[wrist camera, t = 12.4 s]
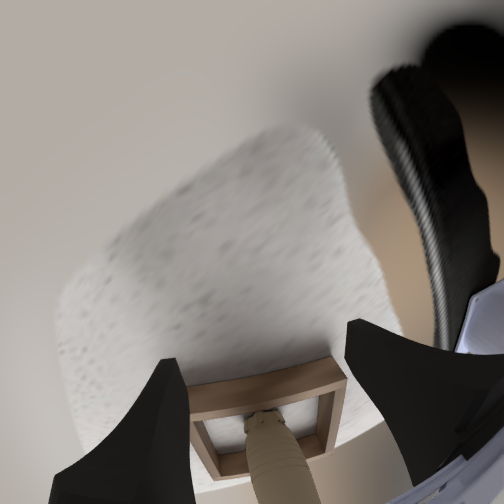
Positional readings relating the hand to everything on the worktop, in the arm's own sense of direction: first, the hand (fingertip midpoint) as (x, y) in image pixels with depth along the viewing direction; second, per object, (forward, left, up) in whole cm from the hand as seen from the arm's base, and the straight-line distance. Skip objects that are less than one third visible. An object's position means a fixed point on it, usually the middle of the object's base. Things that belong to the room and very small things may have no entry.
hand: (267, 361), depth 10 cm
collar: (0, +11, -5) cm, 12 cm away
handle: (0, +11, -5) cm, 12 cm away
